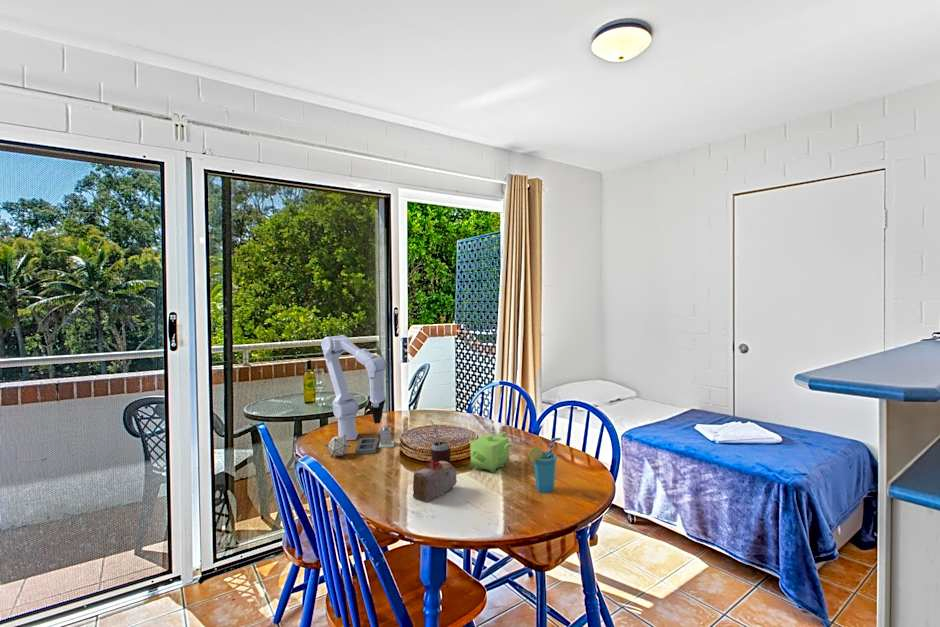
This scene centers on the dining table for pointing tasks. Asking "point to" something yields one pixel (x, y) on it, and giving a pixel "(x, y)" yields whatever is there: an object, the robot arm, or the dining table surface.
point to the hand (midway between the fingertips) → (378, 420)
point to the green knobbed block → (490, 452)
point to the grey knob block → (385, 436)
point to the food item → (433, 480)
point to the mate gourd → (440, 450)
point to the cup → (544, 467)
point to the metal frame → (367, 446)
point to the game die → (338, 446)
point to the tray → (387, 445)
